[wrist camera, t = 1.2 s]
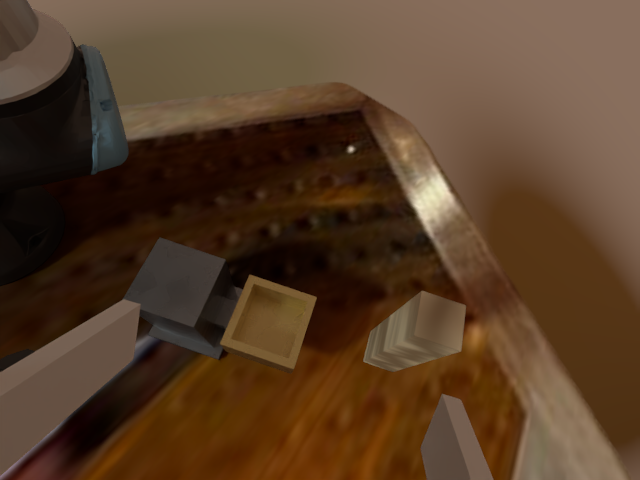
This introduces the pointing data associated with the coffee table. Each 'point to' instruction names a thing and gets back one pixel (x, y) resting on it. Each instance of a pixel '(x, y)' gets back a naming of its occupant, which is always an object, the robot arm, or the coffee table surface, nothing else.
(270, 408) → the coffee table surface
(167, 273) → the bracket
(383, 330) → the block
